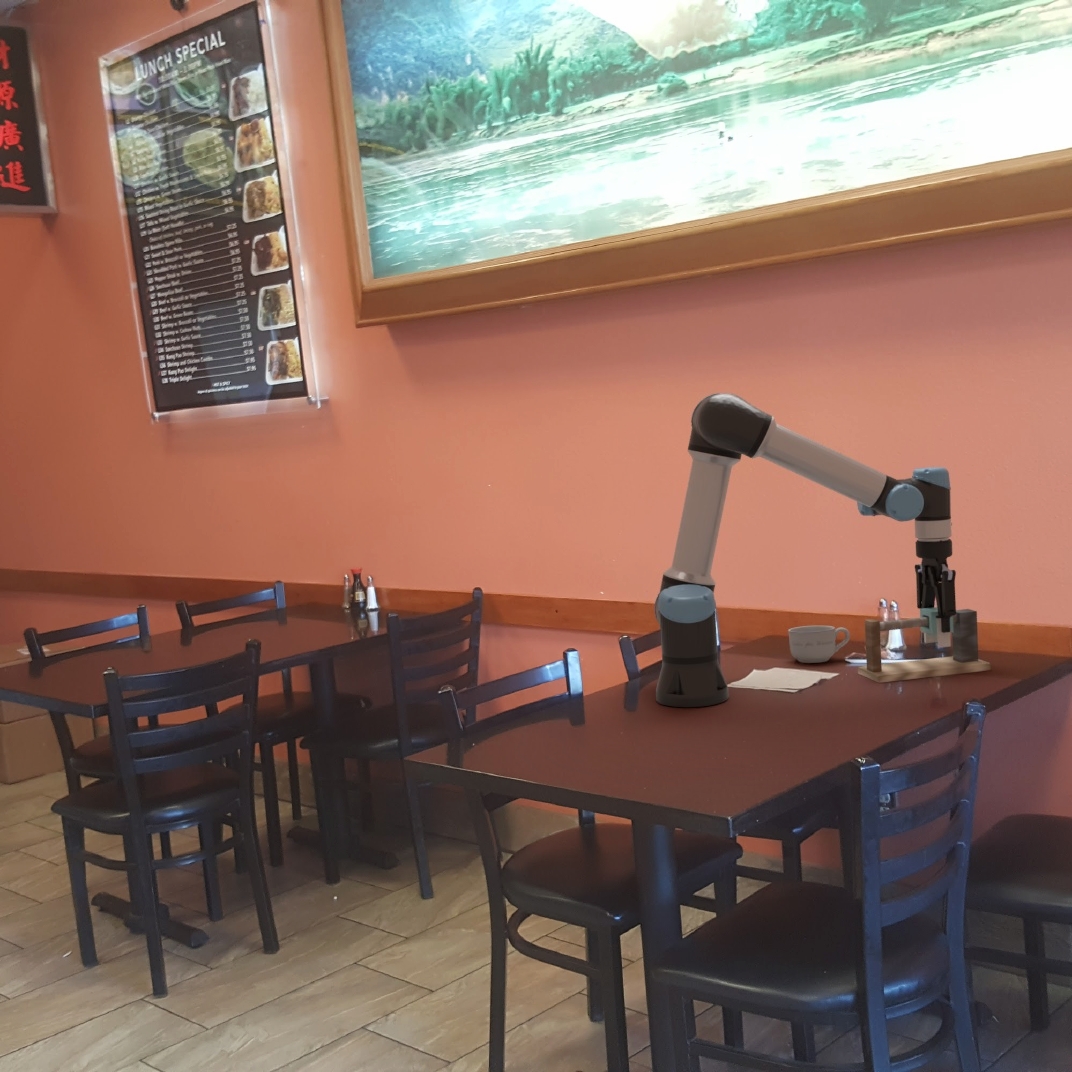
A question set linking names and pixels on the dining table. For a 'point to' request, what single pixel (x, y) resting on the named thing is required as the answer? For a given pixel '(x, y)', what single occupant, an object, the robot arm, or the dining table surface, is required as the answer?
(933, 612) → the sleeve
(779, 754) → the dining table surface
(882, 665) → the rod stand
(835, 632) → the teacup
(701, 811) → the dining table surface
